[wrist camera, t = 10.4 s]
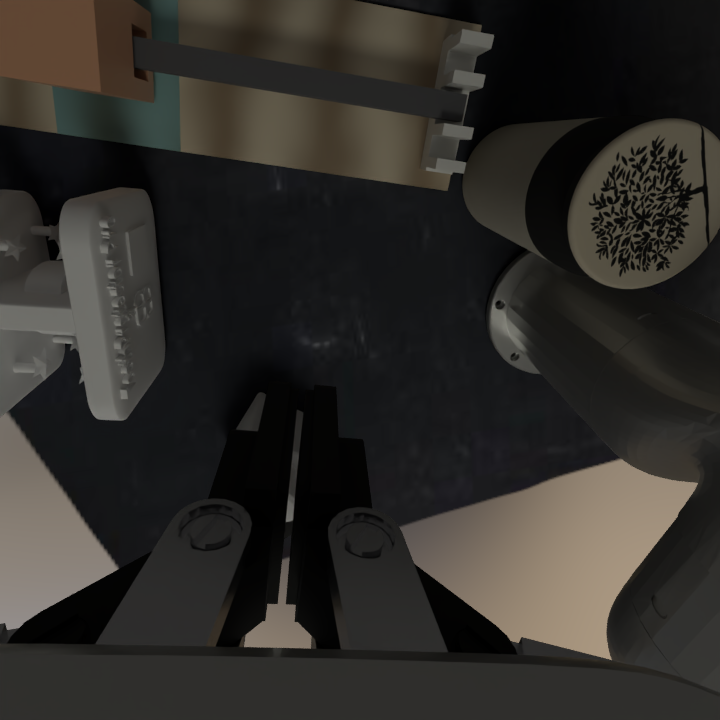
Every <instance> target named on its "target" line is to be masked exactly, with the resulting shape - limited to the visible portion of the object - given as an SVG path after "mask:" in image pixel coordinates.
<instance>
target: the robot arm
mask: <svg viewBox="0 0 720 720" xmlns="http://www.w3.org/2000/svg"><path fill="white" fill-rule="evenodd" d="M498 300H499V303H498V304H496V302H497V301H498ZM486 325H487V331H488V334H489V337H490V340H491V342H492V344H493V345H494V347H495V349H496V350H497V351H498V353H499V354H500V355H501V356H502V358H504V359H505V360H506V361H507V362H508V363H509V364H511V365H512V366H514V367H516V368H518V369H520V370H523V371H526V372H529V373H534V374H542V375H543V376H544V377H545V379H546V380H547V381H548V382H549V383H550V384H551V385H552V386H553V387H554V388H555V389H556V390H557V392H558V393H559V394H560V395H561V396H562V397H563V398H564V399H565V400H566V401H567V402H568V404H569V405H570V406H571V407H572V408H573V409H574V410H575V411H576V412H577V413H578V414H579V415H580V417H581V418H582V419H583V420H584V421H585V422H586V423H587V424H588V425H589V426H590V427H591V428H592V430H593V431H594V432H595V433H596V434H597V435H598V436H599V437H600V438H601V439H602V440H603V441H604V442H605V443H606V444H607V445H608V446H609V447H610V449H611V450H612V451H613V452H614V453H616V454H617V455H618V456H619V457H620V458H621V459H623V460H624V461H625V462H627V463H628V464H630V465H632V466H633V467H635V468H637V469H639V470H641V471H643V472H646V473H648V474H651V475H654V476H658V477H662V478H667V479H671V480H677V481H685V482H696V483H698V485H697V487H696V489H695V491H694V492H693V494H692V495H691V497H690V498H689V500H688V501H687V502H686V504H685V505H684V507H683V508H682V509H681V511H680V512H679V514H678V517H677V518H676V520H675V521H674V522H673V523H672V525H671V526H670V527H669V528H668V530H667V531H666V532H665V534H664V535H663V536H662V537H661V539H660V540H659V541H658V542H657V544H656V545H655V546H654V548H653V549H652V550H651V551H650V553H649V554H648V555H647V556H646V558H645V559H644V561H643V562H642V563H641V564H640V565H639V567H638V568H637V569H636V570H635V572H634V573H633V574H632V576H631V577H630V579H629V580H628V581H627V583H626V584H625V585H624V587H623V588H622V590H621V591H620V593H619V594H618V596H617V597H616V599H615V601H614V603H613V605H612V608H611V610H610V613H609V617H608V623H607V642H608V648H609V652H610V656H611V658H612V660H609V659H605V658H601V657H597V656H593V655H589V654H585V653H582V652H577V651H574V650H570V649H566V648H561V647H558V646H554V645H550V644H546V643H542V642H538V641H534V640H531V639H527V638H523V637H522V638H521V640H520V642H519V643H516V642H512V641H510V640H509V638H508V637H507V635H505V634H504V633H503V632H502V631H501V630H500V629H499V628H498V627H497V626H496V625H495V624H493V623H492V622H491V621H489V620H488V619H486V618H485V617H484V616H483V615H481V614H480V613H479V612H477V611H476V610H474V609H473V608H472V607H471V606H469V605H468V604H467V603H465V602H464V601H463V600H462V599H460V598H459V597H458V596H456V595H455V594H454V593H452V592H451V591H450V590H448V589H447V588H445V587H444V586H443V585H442V584H440V583H439V582H438V581H436V580H435V579H434V578H432V577H431V576H430V575H428V574H427V573H426V572H424V571H423V570H422V569H420V568H419V567H418V566H416V565H415V564H414V562H413V560H412V557H411V555H410V552H409V549H408V547H407V544H406V542H405V539H404V536H403V534H402V532H401V530H400V528H399V526H398V525H397V523H396V522H395V521H394V520H392V519H391V518H390V517H389V516H388V515H386V514H384V513H382V512H380V511H378V510H374V509H372V503H371V495H370V487H369V479H368V472H367V464H366V456H365V449H364V442H363V440H362V439H351V438H339V437H338V416H337V395H336V387H331V386H320V385H315V386H314V390H306V393H305V402H304V411H303V421H302V430H301V440H300V449H299V459H298V468H297V478H296V488H295V500H294V512H293V524H292V537H291V549H290V561H289V574H288V585H287V597H286V604H294V605H296V611H295V622H298V623H299V624H301V626H302V627H303V628H304V629H305V630H306V631H308V633H310V635H311V636H312V639H311V649H301V648H256V647H255V648H254V647H244V642H245V635H246V634H247V633H248V632H249V631H251V630H252V629H253V628H254V627H256V626H257V625H258V624H260V623H261V622H262V621H265V618H266V610H267V604H277V603H278V593H279V583H280V574H281V564H282V554H283V544H284V534H285V524H286V514H287V505H288V495H289V485H290V475H291V464H292V454H293V444H294V434H295V424H296V414H297V404H298V394H299V389H292V388H291V383H288V382H277V381H269V384H268V389H267V393H266V397H265V402H264V406H263V411H262V415H261V419H260V424H259V428H258V431H249V430H236V429H231V430H230V433H229V436H228V439H227V442H226V445H225V448H224V451H223V454H222V457H221V460H220V464H219V467H218V470H217V473H216V476H215V479H214V482H213V485H212V488H211V491H210V495H209V498H208V499H206V500H200V501H198V502H195V503H192V504H190V505H188V506H186V507H185V508H183V509H182V510H180V511H179V512H178V513H177V515H176V516H175V517H174V518H173V519H172V521H171V522H170V524H169V525H168V527H167V529H166V530H165V532H164V534H163V535H162V537H161V538H160V540H159V542H158V543H157V545H156V546H155V548H154V550H153V551H151V552H150V553H148V554H146V555H144V556H142V557H140V558H139V559H137V560H135V561H133V562H131V563H129V564H128V565H126V566H124V567H122V568H120V569H118V570H117V571H115V572H113V573H111V574H109V575H107V576H106V577H104V578H102V579H100V580H98V581H96V582H95V583H93V584H91V585H89V586H87V587H85V588H84V589H82V590H80V591H78V592H76V593H75V594H73V595H71V596H69V597H67V598H65V599H63V600H61V601H60V602H58V603H56V604H54V605H53V606H50V607H49V608H47V609H45V610H43V611H41V612H40V613H38V614H37V615H35V616H34V617H32V618H31V619H29V620H28V621H26V622H25V623H24V624H23V625H22V626H21V627H20V628H18V629H12V630H7V629H6V625H5V623H4V624H0V720H720V323H719V322H717V321H715V320H713V319H710V318H708V317H706V316H704V315H702V314H700V313H697V312H695V311H693V310H691V309H689V308H687V307H685V306H682V305H680V304H678V303H676V302H674V301H672V300H670V299H667V298H665V297H663V296H661V295H659V294H657V293H655V292H652V291H650V290H648V289H646V288H644V287H643V288H637V289H619V288H613V287H610V286H606V285H604V284H601V283H599V282H597V281H595V280H594V279H593V278H591V277H585V276H580V275H576V274H573V273H570V272H568V271H566V270H564V269H562V268H561V267H559V266H557V265H555V264H553V263H551V262H550V261H548V260H546V259H544V258H542V257H540V256H539V255H537V254H535V253H533V252H531V251H529V250H527V251H525V252H524V253H522V254H521V255H519V256H518V257H517V258H516V259H514V260H513V261H512V262H511V263H510V264H509V265H508V266H507V267H506V268H505V270H504V271H503V272H502V274H501V275H500V276H499V278H498V279H497V281H496V283H495V285H494V287H493V289H492V291H491V294H490V297H489V300H488V303H487V311H486ZM511 354H512V355H511Z"/></svg>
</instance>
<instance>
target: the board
mask: <svg viewBox="0 0 720 720" xmlns="http://www.w3.org/2000/svg"><path fill="white" fill-rule="evenodd" d="M134 1H135V2H136V3H138V4H139V5H141V6H142V7H143V8H145V9H146V10H147V11H149V12H150V13H151V29H152V39H153V40H158V41H164V42H170V43H175V44H181V45H187V46H193V47H198V48H204V49H210V50H215V51H221V52H227V53H233V54H238V55H244V56H250V57H256V58H261V59H267V60H273V61H278V62H284V63H290V64H296V65H301V66H307V67H313V68H318V69H324V70H330V71H336V72H341V73H347V74H353V75H358V76H364V77H370V78H376V79H381V80H387V81H393V82H399V83H404V84H410V85H416V86H421V87H427V88H433V89H435V84H436V78H437V73H438V67H439V62H440V56H441V51H442V45H443V41H444V40H445V39H446V38H447V37H448V36H450V35H451V34H453V35H456V34H457V33H458V32H459V31H461V30H462V29H465V30H470V31H476V32H481V27H482V25H478V24H473V23H468V22H463V21H458V20H453V19H447V18H442V17H437V16H432V15H427V14H422V13H417V12H411V11H406V10H401V9H396V8H391V7H386V6H381V5H375V4H370V3H365V2H360V1H355V0H134ZM153 82H154V103H150V102H143V101H137V100H131V99H124V98H118V97H112V96H105V95H99V94H93V93H87V92H80V91H75V90H70V89H64V88H59V87H54V86H49V85H44V84H39V83H33V82H28V81H23V80H18V79H13V78H8V77H2V76H0V125H5V126H12V127H18V128H25V129H32V130H39V131H45V132H52V133H58V134H65V135H72V136H79V137H86V138H92V139H99V140H106V141H113V142H119V143H126V144H133V145H140V146H146V147H153V148H160V149H167V150H174V151H181V152H188V153H194V154H201V155H208V156H215V157H222V158H228V159H235V160H242V161H249V162H255V163H262V164H269V165H276V166H282V167H289V168H296V169H303V170H310V171H316V172H323V173H330V174H337V175H343V176H350V177H357V178H364V179H370V180H377V181H384V182H391V183H398V184H404V185H411V186H418V187H425V188H431V189H438V190H445V191H447V190H448V186H449V181H450V176H451V174H445V173H439V172H432V171H426V170H423V169H420V166H421V161H422V155H423V150H424V144H425V139H426V133H427V128H428V122H429V118H427V117H421V116H416V115H410V114H404V113H398V112H392V111H386V110H380V109H374V108H368V107H362V106H356V105H350V104H344V103H338V102H332V101H326V100H320V99H314V98H308V97H302V96H296V95H290V94H284V93H278V92H272V91H266V90H260V89H254V88H248V87H242V86H236V85H230V84H224V83H218V82H212V81H206V80H200V79H194V78H188V77H182V76H176V75H170V74H164V73H158V72H153Z"/></svg>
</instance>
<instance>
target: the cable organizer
mask: <svg viewBox="0 0 720 720" xmlns="http://www.w3.org/2000/svg"><path fill="white" fill-rule="evenodd" d="M46 236H50V237H49V239H48V240H53V239H55V241H56V242H57V244H58V246H59V249H60V252H59V255H58V257H57V259H56V260H59V259H63V261H50V257H49V252H48V247H47V242H46ZM59 240H60V242H59ZM65 343H67V344H72V346H71V349H70V351H71V350H72V349H74V348H76V349H77V351H78V352H79V355H80V360H81V366H82V368H80V370H81V373H82V376H81V379H80V382H79V384H80V383H81V382H82V381H84V383H85V388H86V394H87V400H88V404H89V407H90V410H91V412H92V414H93V415H94V416H95V417H96V418H97V419H100V420H125V419H126V418H127V417H128V416H129V415H130V413H131V412H132V410H133V409H134V408H135V406H136V405H137V403H138V402H139V400H140V399H141V398H142V396H143V395H144V393H145V392H146V391H147V389H148V388H149V386H150V385H151V384H152V382H153V381H154V379H155V378H156V376H157V375H158V374H159V372H160V371H161V369H162V366H163V363H164V358H165V334H164V323H163V312H162V301H161V290H160V279H159V267H158V256H157V245H156V234H155V223H154V214H153V209H152V205H151V201H150V198H149V196H148V194H147V192H146V191H145V190H143V189H135V188H124V187H119V188H114V189H110V190H106V191H102V192H98V193H93V194H89V195H85V196H81V197H77V198H72V199H69V200H67V201H66V202H65V204H64V205H63V207H62V210H61V214H60V220H59V223H58V224H57V225H56V226H52V225H49V227H48V226H43V220H42V216H41V213H40V210H39V207H38V205H37V203H36V201H35V200H34V198H33V197H32V196H31V195H30V194H29V193H27V192H25V191H18V190H6V189H2V190H0V417H1V416H2V415H4V414H5V413H6V412H7V411H9V410H10V409H11V408H12V407H13V406H14V405H15V404H17V403H18V402H19V401H20V400H21V399H22V398H24V397H25V396H26V395H27V394H28V393H29V392H31V391H32V390H33V389H34V388H35V387H36V386H38V385H39V384H40V383H41V382H42V381H43V380H45V379H46V378H47V377H48V376H49V375H50V374H52V373H53V372H54V371H55V370H56V369H57V368H58V367H59V366H60V365H61V363H62V361H63V357H64V352H65Z"/></svg>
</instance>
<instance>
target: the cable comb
mask: <svg viewBox="0 0 720 720" xmlns="http://www.w3.org/2000/svg"><path fill="white" fill-rule="evenodd" d="M493 39H494V35H491V34H486V33H481V32H476V31H470V30H465V29H462V30H461V31H459V32H458V33H457V34H456V35H453V34H451V35H450V36H448V37H447V38H446V39H445V40H444V41H443V45H442V51H441V56H440V62H439V67H438V73H437V78H436V84H435V89H439V90H444V91H450V92H456V93H461V94H467V95H468V96H467V100H466V105H465V110H464V115H463V120H464V116H465V111H466V106H467V101H468V97H469V92H471V91H474V90H477V89H480V88H483V84H484V80H485V75H483V74H477V73H474V68H475V63H476V58H477V56H479V55H480V54H482V53H484V52H486V51H488V50H490V49H491V48H492V43H493ZM463 120H462V122H451V121H445V120H439V119H433V118H429V122H428V128H427V133H426V139H425V144H424V150H423V155H422V161H421V166H420V169H423V170H426V171H432V172H439V173H445V174H452V173H453V172H456V173H463V174H464V171H465V166H466V162H460V161H455V159H456V154H457V149H458V144H459V140H471V139H472V135H473V130H474V128H471V127H465V126H462V125H463Z"/></svg>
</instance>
